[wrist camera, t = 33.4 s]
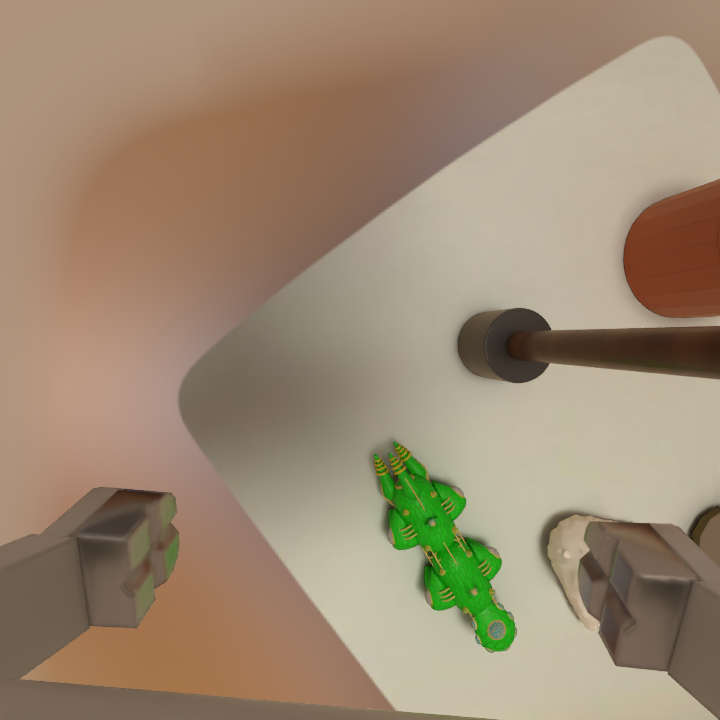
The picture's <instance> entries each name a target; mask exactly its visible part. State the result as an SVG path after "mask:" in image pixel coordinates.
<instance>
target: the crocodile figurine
mask: <svg viewBox="0 0 720 720" xmlns="http://www.w3.org/2000/svg"><path fill="white" fill-rule="evenodd" d="M393 443H394V445H395V450H396V453H397V454H398V457H400V461H401V462H400V463H399V462H398V461H399V459H395V458H396V456H393V455H392V454H391V453H388V454H389V457H390V459H389V461H391V463H390V465H391V466H392V465H393V467H392V470H395V472H394V475H397V476H398V478H399V480H398V481H397V482H396V484H395V482H394V481H393V479H392V478H391V476H390V475H389V473H388V472H389V468H387V467H386V464H384V462H383V460H381V458H378V456H377V455H376V454H374V457H375V459H374V462H375V463H374V466H376V467H375V470H376V475H378V476H379V477H380V485H381V490H382V496H383V497H384V495H385V497H386V498H385V497H384V498H385V499H386V500H387V501H388V502H389V501H391V502H389V503H390V504H392V505H393V507H395V506H396V507H395V508H396V509H390V512H389V527H390V529H389V530H388V534H387V535H388V540H389V542H390V543H391V544H393V547H394V548H395V549H398V550H405V549H409V548H412V547H415V546H417V545H418V544H419V545H420V546H421V548H422V549H423V548H424V549H425V550H424V549H423V551H424V553H425V554H426V556H427V557H428V555H427V553H428V552H429V551H430V552H431V555H430V556H429V557H428V559H429V561H430V562H431V564H432V567H428V566H425V571H424V583H425V586H426V588H427V590H426V593H425V598H426V601H427V603H428V604H429V605H430V606H431V608H432V609H434V610H438V611H439V610H445V609H449V608H451V607H453V606H455V605H457V607H458V608H459V609H461V610H462V611H463V613H464V614H466V613H467V614H470V616H471V618H472V619H473V620H472V622H471V624H472V628H473V629H474V630H475V632H476V635H475V639H476V642H477V643H478V644H481V645H482V646H483V647H485V649H486V650H487V651H488V652H490V653H493V652H495V651H506V650H508V649H509V648H510V645H511V644H512V642H513V640H514V637H515V636H516V635H517V629H516V627H515V623H514V616H513V615H512V613H511V612H507V611H506V610H505V609H504V607H503V605H502V604H500V603H496V601H495V599H494V598H493V594H495V590H493V589H492V586H491V584H490V580H491V579H493V578H494V577H495V575H496V574H497V573H498V571H499V569H500V567H501V564H502V560H501V558H500V557H499V553H498V551H497V550H496V549H495V548H493V547H487V548H486V547H484V546H483V545H482V544H480V543H479V542H477V541H475V540H472V539H469V538H466V541H464V539H463V537H462V536H461V534H460V532H459V531H458V528H457V527H456V526H455V524H454V522H453V520H455V519H456V518H457V517H458V516H459V515H460V514H461V512H462V511H463V509H464V507H465V505H466V499H465V497H464V493H463V491H462V490H461V489H460V488H458V487H455V486H453V487H449V486H447V485H444V484H441V483H438V482H436V481H432V483H430V480H429V476H428V473H427V469H426V468H425V466H424V465H422V464H421V463H420V462H418V461H417V460H416V459H415V458H413V457H412V456H411V452H410V451H407V449H406V448H404V446H403V445H402V446H401V444H397V443H396V442H393ZM402 462H404V463H405V465H406V466H403V467H402V466H401V465H402V464H403V463H402ZM406 467H407V469H408V471H409V472H410V474H408V472H407V471H406V470H405V469H406ZM427 476H428V478H427ZM383 493H384V495H383ZM388 499H389V500H388ZM392 501H394V504H393V503H392ZM394 505H395V506H394ZM456 533H459V535H460V536H459V537H457V536H456ZM455 536H456V537H455ZM460 537H461V538H462V540H463V541H462V540H461V539H460ZM425 551H426V552H425ZM430 559H431V560H430ZM492 599H493V600H494V601H495V602H494V603H493V602H492ZM472 615H473V617H472Z"/></svg>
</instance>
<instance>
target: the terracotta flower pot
mask: <svg viewBox="0 0 720 720" xmlns="http://www.w3.org/2000/svg"><path fill="white" fill-rule="evenodd" d="M624 267H625V273H626V277H627V280H628V283H629V285H630V287H631V289H632V291H633V293H634V294H635V296H636V297H637V299H638V300H639V301H640V302H641V303H642V304H643V305H644V306H645V307H647V308H648V309H649V310H651V311H653V312H654V313H657V314H659V315H662V316H666V317H673V318H676V317H681V318H692V317H713V316H720V179H718V180H716V181H713V182H710V183H707V184H705V185H702V186H699V187H696V188H694V189H691V190H688V191H685V192H682V193H680V194H677V195H674V196H671V197H669V198H666V199H663V200H662V201H659V202H657V203H655V204H653V205H652V206H650V207H649V208H647V209H646V210H645V211H644V212H643V213H642V214H641V215H640V216H639V217H638V218H637V220H636V221H635V223H634V224H633V226H632V228H631V230H630V232H629V234H628V237H627V240H626V244H625V250H624Z"/></svg>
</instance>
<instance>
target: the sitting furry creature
mask: <svg viewBox="0 0 720 720" xmlns="http://www.w3.org/2000/svg"><path fill="white" fill-rule="evenodd" d="M590 521H601V522H615V521H612V520H609V519H608V520H602V519H600V518H595V517H592V516H590V515H589V516H586V517H583V516H579V515H573V516H571V517H569V518H567V519H565V520H561V521H560V522H559V524H558V526H557V527H556V528H555V529H553V530H552V531H551V533H550V542H549V545H548V546H547V550H548V557H549V558H550V559H551V565H552V567H553V569H554V571H555V573H556V574H557V575H558V578H559V581H560V583H562V584H563V588H564V590H565V594H566V595H567V597H568V598H569V602H570V603H571V604H572V605H573V607H574V611H575V613H576V614H578V616H579V618H580V620H581V621H582V623H583V624H584V625H585V627H586V628H587V629H589V630H592V631H595V630H597V629H598V624H600V622H599V621H598V620H596V619H595V618H594V617H593V616H591V615H590V614H589V613H588V612H587V610H586V608H585V606H584V604H583V602H582V599H581V596H580V593H579V587H578V576H577V574H578V568H579V561H580V559H581V558H582V557H583V556H584V555H585V554H586V553H587V552H588V551H589V548H588V546H587V545H586V543H585V541H584V535H585V530H586V527H587V525H588V524H589V522H590ZM616 522H619V521H616Z"/></svg>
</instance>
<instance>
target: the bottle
mask: <svg viewBox="0 0 720 720" xmlns="http://www.w3.org/2000/svg"><path fill="white" fill-rule="evenodd" d="M692 541H693V542H694V543H695V544H696V545H697V546H698V547H699V548H700V549H701V550H702V551H703V552H704V553H705V554H706V555H707V556H708V557H709V558H710V559H711V560H712V561H713V562H714V563H715V564H716V565H717V566H718V567H719V568H720V508H714V509H713V510H711V511H710V512H708V513H707V514H705V515H704V516H702V517H701V519H700V521H699V522H698V524H697V526H696V528H695V529H694V531H693V535H692Z"/></svg>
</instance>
